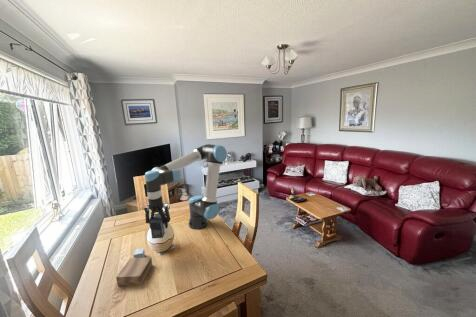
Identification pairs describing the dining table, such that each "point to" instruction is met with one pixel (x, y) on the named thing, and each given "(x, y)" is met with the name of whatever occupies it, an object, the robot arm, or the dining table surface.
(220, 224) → the dining table surface
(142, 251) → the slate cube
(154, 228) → the small box
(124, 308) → the dining table surface
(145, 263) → the walnut base
